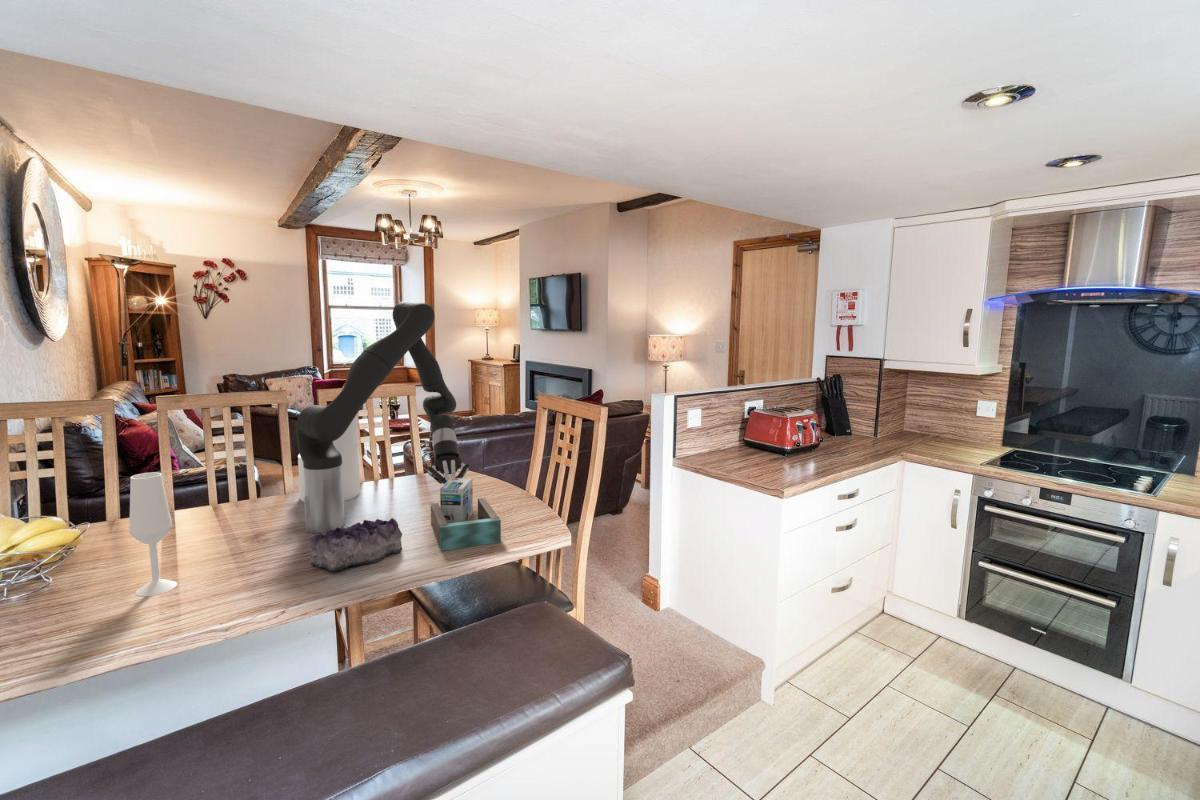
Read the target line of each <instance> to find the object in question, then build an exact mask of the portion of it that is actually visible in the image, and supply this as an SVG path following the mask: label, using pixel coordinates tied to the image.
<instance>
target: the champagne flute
mask: <svg viewBox="0 0 1200 800" xmlns="http://www.w3.org/2000/svg"><path fill="white" fill-rule="evenodd" d="M129 491H130V494H129V522H128V523H129V526H128V529H129V535H130V536H131V537H132V538H134V539H135V540H136V541H139V542H140V543H143V544H145V545H148V548H149V559H150V572H151V581H149V582H148V583H145V584H144V585H143V586H141V587H140V588H138V589H137V590H136V591H135V595H136V596H138V597H152V596H153V597H154V596H156V595H161V594H164V593H167V592H170V591H172V590H173V589H175V588H176V587H177V586H178V582H177V581H174V580H169V579H163V578H160V570H159V569H160V567H159V556H158V547H157V546H158V545H157V544H158V543H159V542H160V541H161V540H162V539H164V538H165V537H166V536H167V535H168V534H169V532H170V531H171V529H172V527H173V521H172V517H171V512H170V507H169V502H168V497H167V493H166V489H165V484H164V479H163V475H162V472H154V471H152V472H143V473H139V474H138V473H137V474H134V475H132V476H130V490H129Z"/></svg>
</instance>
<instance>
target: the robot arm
mask: <svg viewBox="0 0 1200 800" xmlns="http://www.w3.org/2000/svg"><path fill="white" fill-rule="evenodd" d="M435 316H436V315H435V311H434V309H433V307H432V306H431V305H430V304H428V303H425V302H420V301H409V300H406V301H405V300H404V301H399V302H398V303H396V304H395V306H394V307H393V310H392V320H393V323H394V325H395V327H396V329H395V330H394V331H393V332H391V333H389V334H388V335H385V336H384V337H383V338H380V339H379V340H377V341H375V342H374V343H372V344H370V345H368V346H367V347H366V348H365V349H364V350H363V351H362V352H361V354H359V355H358V357H357V358H356V359H355V360H354V361H353V363H352V364H351V365H350V367H349V370H348V373H347V375H346V380H345V384H344V386H343V388H342V390H341V391H340V392H339V394H337V396H336V397H335V398H334V399H333V400H332V401H330V403H329V404H328V405H326V406H323V405H318V404H317V405H316V404H315V405H309V406H306V407H305V408H303V409H302V410H301V411H300V412H299V413H300V414H299V413H298V414H299V415H298V417H297V420H296V435H297V445H298V452H299V453H298V455H299V454H300V456H301V459H302V460H303V468H304V486H305V497H304V502H303V504H304V521H305V522H304V523H305V525H304V526H305V533H306V534H307V533H312V534H313V533H314V534H322V533H323V532H324V531H325V530H327V529H328V530H335V529H336V528H337V527H338V528H344V526H345V523H346V522H345V519H346V518H345V501H344V496H343V473H342V456H341V454H340V452H339V451H337V449H336V448H335V447H334V445H333V441H335V440H337V439H338V438H340V437H341V436H342V435H343V434H344V432H345V431H346V430H347V428H348V427H349V425H350V424H351V422H352V421H353V419H354V418H355V416H356V414H357V415H358V413H359V411H360V410H361V408H362V407H363V406H364V404H365V403H366V402H367V401H368V400H369V399H370V397H371V396H372V395H373V393H374V392H375V391H376V390H377V389H378V387H379V386H380V385H381V384H382V383H383V382H384V380H386V378H387V377H388V376H389V375H390V373H391V372H392V371H393V369H394V368H395V367H396V365H397V364H398V363H399V362H400V361H401V360H402V359H403V358H404V356H405V355H406V354H407V353H408V352H409V355H410V356H411V358H412V361H413V364H414V366H415V368H416V372H417V374H418V378H419V381H420V383H421V386H422V389H423V390H424V392H427V393H437V394H434V395H429V396H427V397H424V399H423V400H422V401H423V402H422V407H423V410H424V412H425V414H426V416H427V418H428V420H429V422H430V423H429V424H430V427H431V435H432V441H431V442H432V450H433V457H434V462H433V465H431V466H428V468H427V474H428V475H429V476H430V477H432V479H434V480H435V481H436V482H437V483H438V484H443V485H444V484H445V483H446V482H447V481H448V480H449V479H450V478H464V476H466V473H467V472H468V471H469V467H470V464H469V463H464V462H463V461H462V459H461V457H460V451H459V445H458V439H457V435H456V432H455V431H456V430H455V426H454V420H453V418H452V417H451V416H449V415H448V414H451V413H454V412H455V411H456V408H457V402H456V399H455V396H454V395H453V393H452V392H451V391H450V389H449V388H448V386H447V384H446V383H445V380H444V377H443V373H442V370H441V368H440V365H439V362H438V360H437V359H436V358H435V356H434V355H433V353H432V352H431V350H430V349H429V348H428V347H427V346H426V344H425V343H424V341H423V339H422V337H424V336H425V335H426V334H427V333H428V332H429V330H430V329H431V327H432V326H433V324H434V321H435ZM445 414H446V415H445ZM459 469H460V471H459ZM458 471H459V473H458V474H457V472H458ZM441 474H442V475H441ZM456 474H457V475H456Z"/></svg>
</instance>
